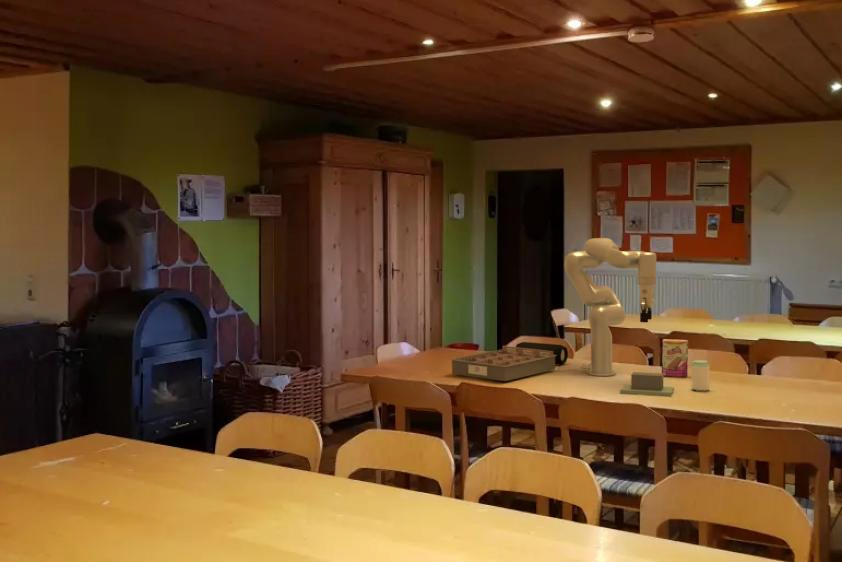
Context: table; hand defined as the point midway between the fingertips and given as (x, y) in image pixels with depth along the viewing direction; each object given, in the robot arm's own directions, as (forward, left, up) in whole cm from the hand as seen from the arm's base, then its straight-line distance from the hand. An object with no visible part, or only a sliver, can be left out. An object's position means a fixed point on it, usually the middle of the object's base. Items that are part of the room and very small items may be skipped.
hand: (645, 320), depth 367 cm
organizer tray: (-65, +5, -28) cm, 71 cm away
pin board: (+3, -19, -27) cm, 33 cm away
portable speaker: (-56, +39, -28) cm, 74 cm away
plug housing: (+3, -19, -26) cm, 32 cm away
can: (+23, -8, -27) cm, 37 cm away
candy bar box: (+10, +21, -27) cm, 36 cm away
